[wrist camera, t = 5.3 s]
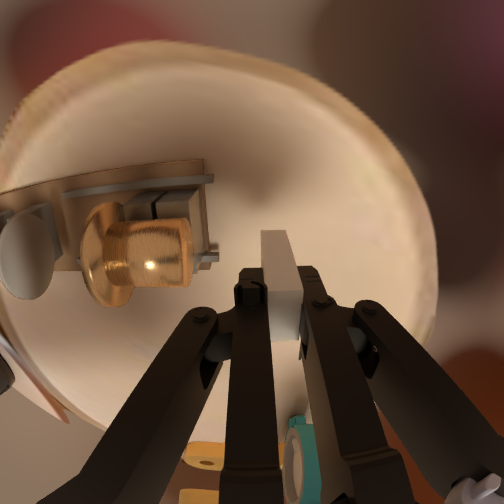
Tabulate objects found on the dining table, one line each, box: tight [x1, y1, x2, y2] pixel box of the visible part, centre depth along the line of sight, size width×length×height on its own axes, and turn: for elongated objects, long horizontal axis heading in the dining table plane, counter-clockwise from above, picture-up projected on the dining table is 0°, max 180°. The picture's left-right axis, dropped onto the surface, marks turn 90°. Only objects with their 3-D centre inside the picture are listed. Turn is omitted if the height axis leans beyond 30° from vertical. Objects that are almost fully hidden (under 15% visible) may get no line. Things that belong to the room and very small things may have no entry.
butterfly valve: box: [283, 415, 322, 504], centre depth 26 cm, size 27×7×30 cm, turn 175°
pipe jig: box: [0, 159, 219, 300], centre depth 19 cm, size 29×10×12 cm, turn 91°
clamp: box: [179, 442, 285, 504], centre depth 38 cm, size 20×9×16 cm, turn 87°
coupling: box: [80, 187, 205, 307], centre depth 19 cm, size 6×7×10 cm
